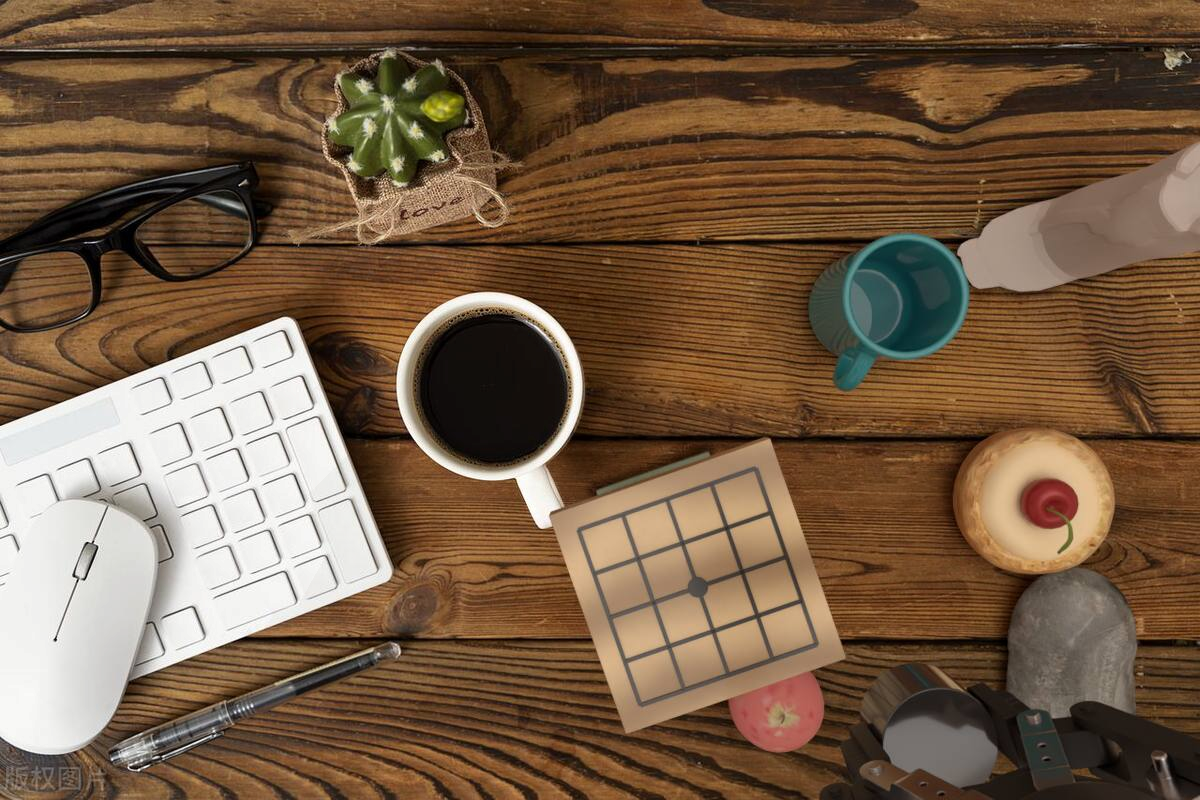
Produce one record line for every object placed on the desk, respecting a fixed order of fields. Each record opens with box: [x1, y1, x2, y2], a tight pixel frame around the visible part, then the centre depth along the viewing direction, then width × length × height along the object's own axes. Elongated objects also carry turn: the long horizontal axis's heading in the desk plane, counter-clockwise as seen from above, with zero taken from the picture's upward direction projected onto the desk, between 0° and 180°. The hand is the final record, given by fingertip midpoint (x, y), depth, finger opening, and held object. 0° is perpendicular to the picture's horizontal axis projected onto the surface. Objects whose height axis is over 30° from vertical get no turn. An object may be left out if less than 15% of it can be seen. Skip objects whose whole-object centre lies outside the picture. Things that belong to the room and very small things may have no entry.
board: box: [548, 436, 847, 735], centre depth 62 cm, size 14×14×22 cm
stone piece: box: [859, 662, 1000, 788], centre depth 36 cm, size 5×5×3 cm
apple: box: [728, 670, 825, 754], centre depth 69 cm, size 7×7×8 cm
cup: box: [807, 232, 970, 393], centre depth 66 cm, size 9×12×11 cm
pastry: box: [952, 427, 1116, 575], centre depth 68 cm, size 12×12×9 cm
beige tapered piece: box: [957, 140, 1200, 293], centre depth 62 cm, size 7×14×20 cm, turn 106°
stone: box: [1005, 566, 1138, 718], centre depth 71 cm, size 11×4×15 cm
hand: (921, 725), depth 37 cm, fingers closed on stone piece, 4 cm apart
